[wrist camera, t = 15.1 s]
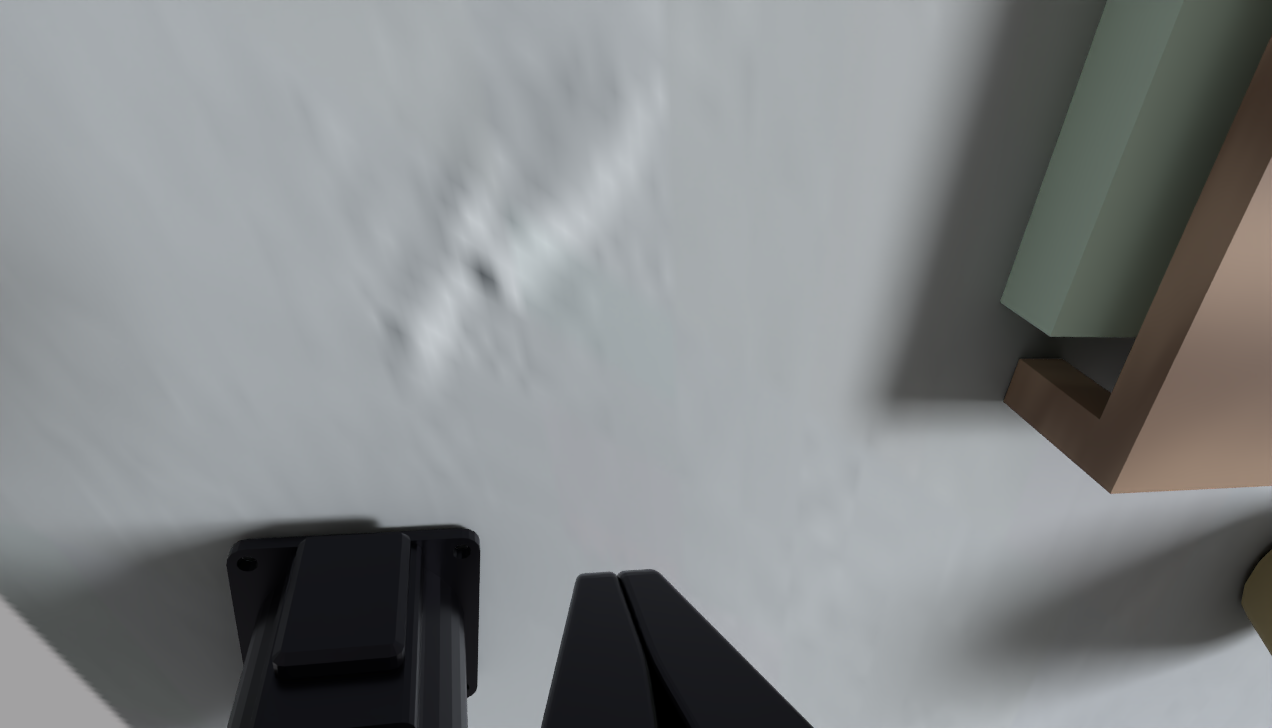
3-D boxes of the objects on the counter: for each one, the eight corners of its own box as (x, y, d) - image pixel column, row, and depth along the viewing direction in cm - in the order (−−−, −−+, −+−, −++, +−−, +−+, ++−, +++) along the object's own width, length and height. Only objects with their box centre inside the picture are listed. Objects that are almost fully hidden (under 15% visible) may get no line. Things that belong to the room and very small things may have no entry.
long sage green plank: (1133, 299, 24) (1203, 337, 22) (991, 296, 23) (1049, 336, 21) (1341, -170, 19) (1462, -182, 16) (1167, -207, 17) (1273, -225, 15)
